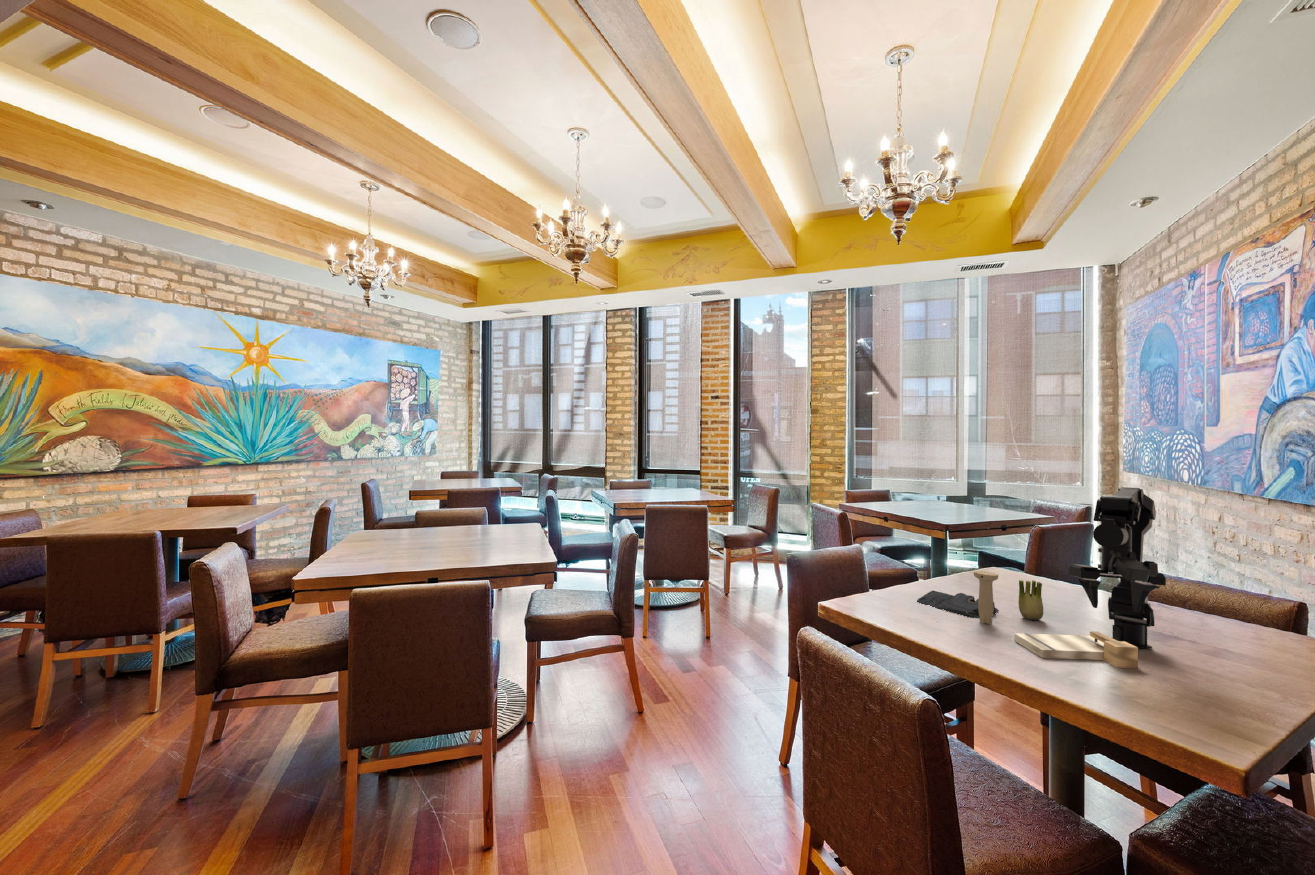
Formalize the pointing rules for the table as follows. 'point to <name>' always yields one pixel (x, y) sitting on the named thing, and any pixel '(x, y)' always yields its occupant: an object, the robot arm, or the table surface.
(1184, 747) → the table surface
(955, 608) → the dark slate chunk
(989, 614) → the handle
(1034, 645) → the ash plank
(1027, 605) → the fennel bulb
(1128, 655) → the marking gauge
